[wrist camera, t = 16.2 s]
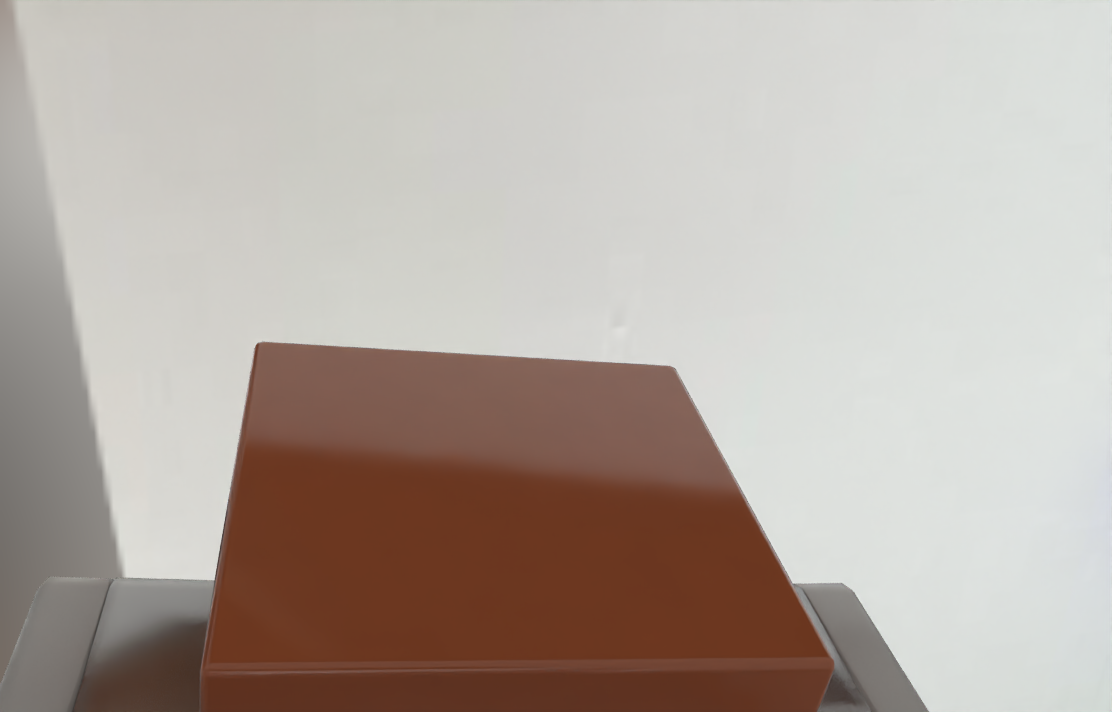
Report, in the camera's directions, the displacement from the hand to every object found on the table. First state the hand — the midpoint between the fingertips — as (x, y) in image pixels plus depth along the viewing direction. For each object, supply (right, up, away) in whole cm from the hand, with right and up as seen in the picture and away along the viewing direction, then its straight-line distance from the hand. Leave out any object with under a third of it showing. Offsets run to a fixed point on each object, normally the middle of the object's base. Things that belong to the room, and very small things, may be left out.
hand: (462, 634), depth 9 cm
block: (0, +1, +1) cm, 2 cm away
